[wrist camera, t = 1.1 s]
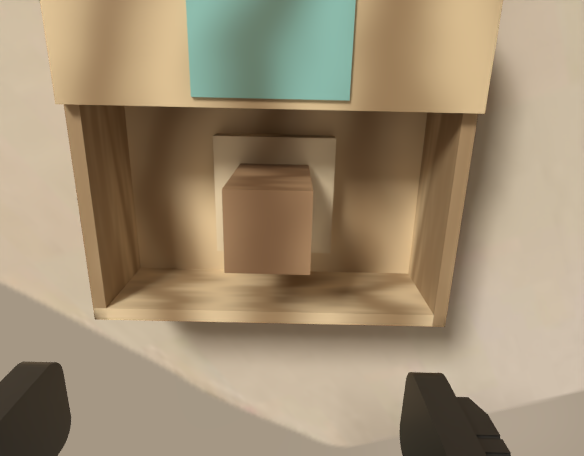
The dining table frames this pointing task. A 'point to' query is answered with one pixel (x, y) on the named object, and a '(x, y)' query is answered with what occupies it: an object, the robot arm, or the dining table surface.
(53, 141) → the dining table surface
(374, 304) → the crate
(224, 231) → the block
